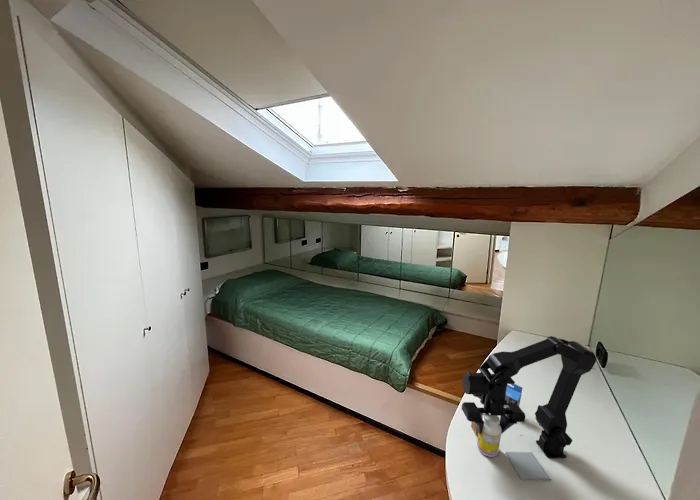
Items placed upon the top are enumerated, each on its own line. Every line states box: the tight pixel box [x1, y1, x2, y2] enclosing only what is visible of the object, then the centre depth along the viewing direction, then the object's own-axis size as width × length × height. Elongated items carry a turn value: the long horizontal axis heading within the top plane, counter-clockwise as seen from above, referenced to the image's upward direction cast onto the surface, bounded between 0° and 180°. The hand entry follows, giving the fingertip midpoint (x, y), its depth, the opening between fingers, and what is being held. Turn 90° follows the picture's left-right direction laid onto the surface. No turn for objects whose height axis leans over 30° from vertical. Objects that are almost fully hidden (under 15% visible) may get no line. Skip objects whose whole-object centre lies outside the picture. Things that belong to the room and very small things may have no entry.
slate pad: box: [505, 451, 551, 481], centre depth 93 cm, size 9×9×1 cm
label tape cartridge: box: [505, 383, 523, 407], centre depth 115 cm, size 9×4×12 cm, turn 42°
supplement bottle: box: [476, 415, 502, 458], centre depth 97 cm, size 7×7×13 cm
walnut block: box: [470, 416, 484, 436], centre depth 106 cm, size 4×4×4 cm
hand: (489, 433), depth 97 cm, fingers closed on supplement bottle, 7 cm apart
